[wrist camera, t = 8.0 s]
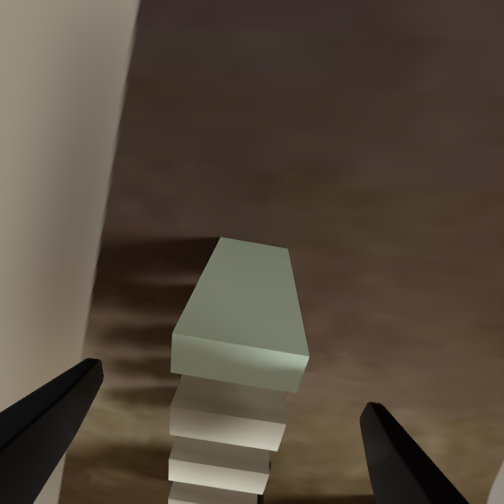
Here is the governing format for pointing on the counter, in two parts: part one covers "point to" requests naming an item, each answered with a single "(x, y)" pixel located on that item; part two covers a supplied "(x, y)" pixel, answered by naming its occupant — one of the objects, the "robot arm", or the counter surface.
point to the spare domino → (243, 320)
